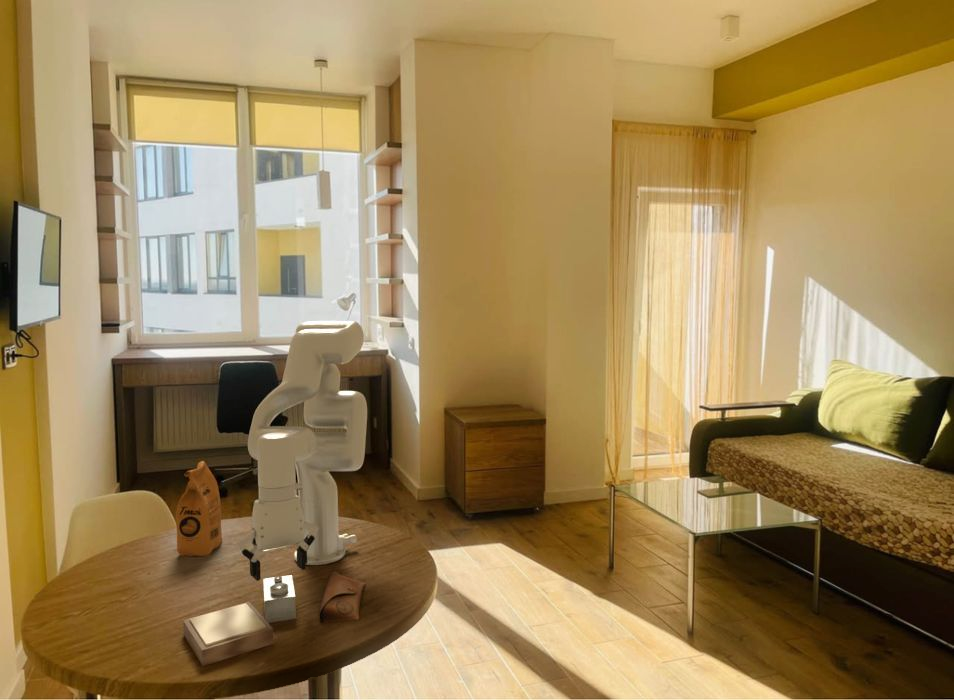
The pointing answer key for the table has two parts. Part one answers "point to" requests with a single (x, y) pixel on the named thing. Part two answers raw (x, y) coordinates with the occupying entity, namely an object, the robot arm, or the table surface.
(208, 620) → the stand
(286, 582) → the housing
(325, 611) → the sunglasses case
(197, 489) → the coffee package
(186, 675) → the table surface
